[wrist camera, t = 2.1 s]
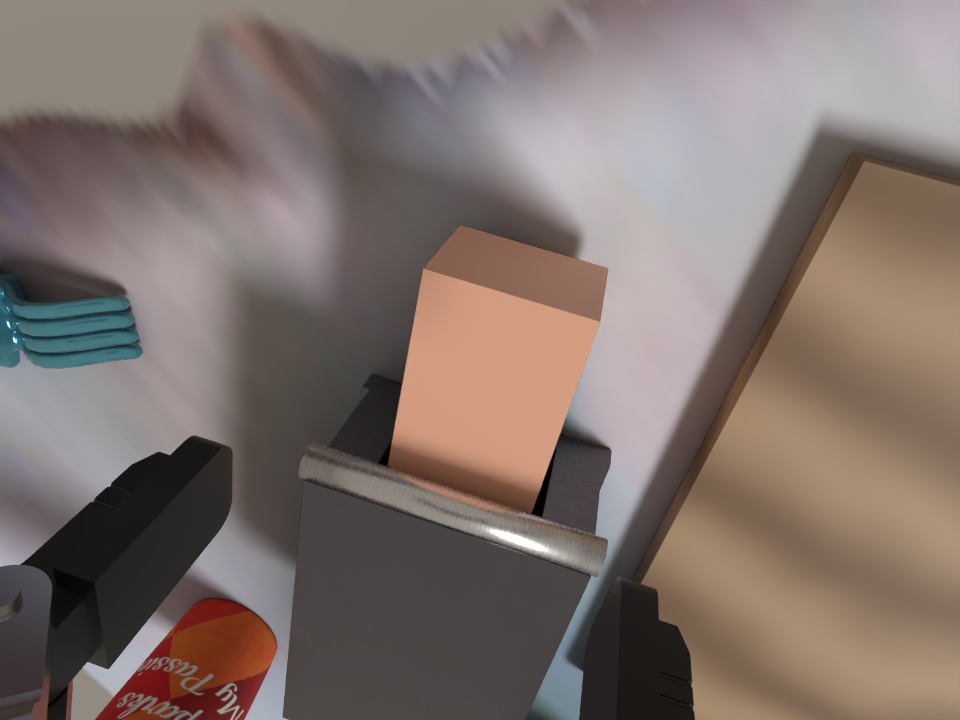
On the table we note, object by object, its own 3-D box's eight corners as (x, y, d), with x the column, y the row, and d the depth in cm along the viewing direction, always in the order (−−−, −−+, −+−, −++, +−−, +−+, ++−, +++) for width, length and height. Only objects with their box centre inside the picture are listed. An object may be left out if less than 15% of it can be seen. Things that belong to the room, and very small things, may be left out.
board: (852, 151, 18) (864, 161, 17) (1379, 292, 17) (1425, 311, 16) (583, 673, 32) (581, 695, 31) (866, 772, 31) (874, 798, 30)
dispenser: (374, 355, 25) (296, 456, 20) (618, 432, 25) (610, 560, 19) (339, 594, 33) (276, 714, 28) (523, 658, 32) (497, 797, 27)
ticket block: (460, 225, 21) (422, 268, 18) (608, 268, 20) (599, 321, 17) (386, 581, 30) (353, 654, 27) (487, 615, 30) (466, 694, 26)
